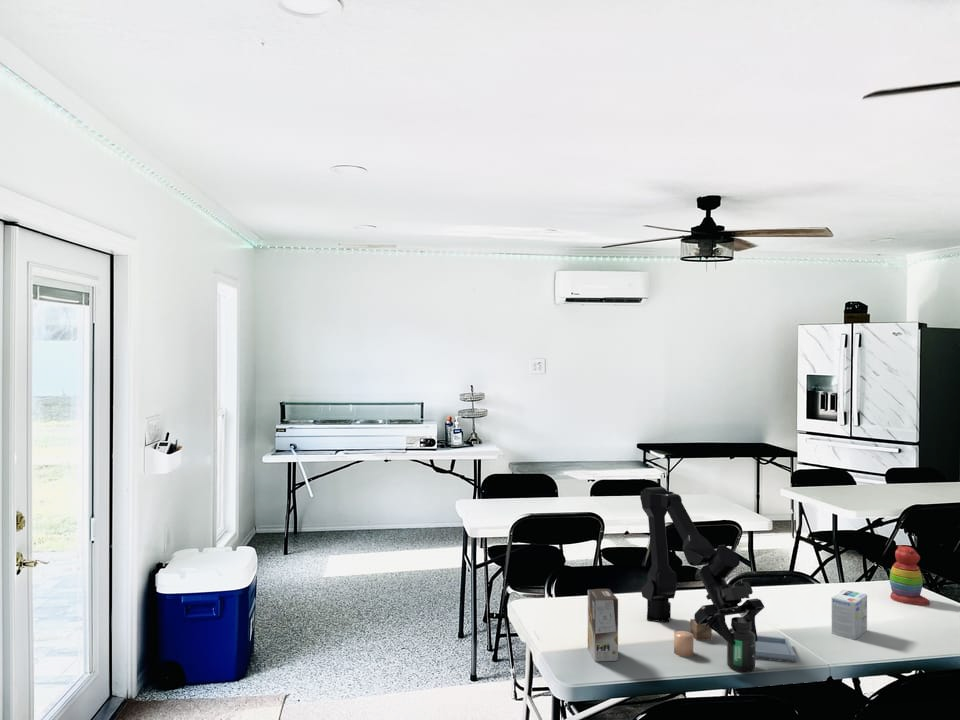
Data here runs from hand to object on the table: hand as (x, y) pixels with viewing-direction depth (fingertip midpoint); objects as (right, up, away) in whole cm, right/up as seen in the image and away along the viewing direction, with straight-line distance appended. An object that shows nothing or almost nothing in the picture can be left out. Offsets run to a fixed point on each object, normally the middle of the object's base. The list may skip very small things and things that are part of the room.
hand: (745, 643), depth 175 cm
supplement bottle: (-1, -7, +1) cm, 7 cm away
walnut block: (-5, -7, +21) cm, 23 cm away
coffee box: (-35, -7, +8) cm, 36 cm away
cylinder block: (-13, -7, +10) cm, 17 cm away
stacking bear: (+75, -8, +54) cm, 93 cm away
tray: (+11, -7, +12) cm, 17 cm away
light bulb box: (+40, -7, +25) cm, 48 cm away
